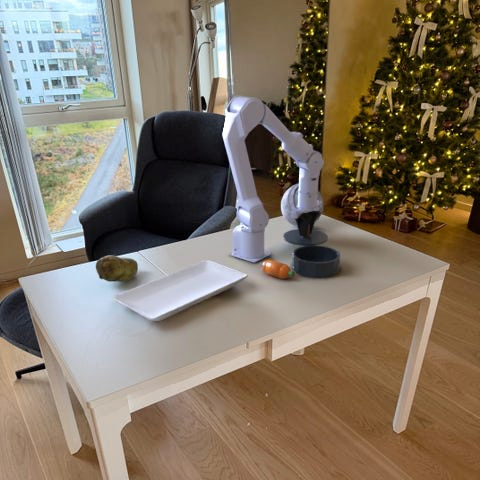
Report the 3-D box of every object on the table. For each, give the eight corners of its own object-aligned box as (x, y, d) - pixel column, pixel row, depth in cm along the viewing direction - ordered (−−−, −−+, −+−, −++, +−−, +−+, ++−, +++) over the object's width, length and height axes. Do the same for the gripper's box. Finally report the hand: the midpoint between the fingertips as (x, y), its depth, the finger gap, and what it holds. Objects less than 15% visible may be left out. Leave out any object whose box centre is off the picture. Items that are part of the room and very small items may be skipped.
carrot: (259, 274, 125) (259, 260, 123) (267, 269, 128) (268, 256, 126) (288, 283, 120) (288, 269, 118) (296, 278, 123) (297, 265, 121)
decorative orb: (297, 235, 152) (299, 191, 144) (272, 224, 162) (273, 182, 155) (329, 227, 159) (333, 184, 151) (303, 216, 169) (305, 176, 162)
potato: (148, 278, 124) (145, 251, 120) (106, 292, 117) (101, 264, 113) (133, 269, 129) (129, 243, 125) (92, 282, 122) (86, 255, 118)
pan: (287, 274, 125) (287, 259, 123) (298, 257, 135) (299, 243, 133) (334, 280, 121) (336, 265, 119) (341, 262, 132) (343, 248, 129)
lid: (277, 244, 139) (278, 230, 136) (289, 230, 150) (289, 216, 148) (323, 249, 134) (324, 235, 132) (331, 234, 146) (332, 220, 144)
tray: (112, 308, 110) (110, 295, 108) (207, 269, 129) (206, 258, 127) (154, 333, 99) (152, 319, 98) (249, 286, 119) (249, 274, 117)
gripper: (306, 199, 128) (303, 244, 134) (331, 188, 137) (328, 231, 144) (285, 195, 131) (284, 239, 138) (312, 185, 141) (309, 226, 148)
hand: (305, 234), depth 141 cm, fingers closed on lid, 2 cm apart
